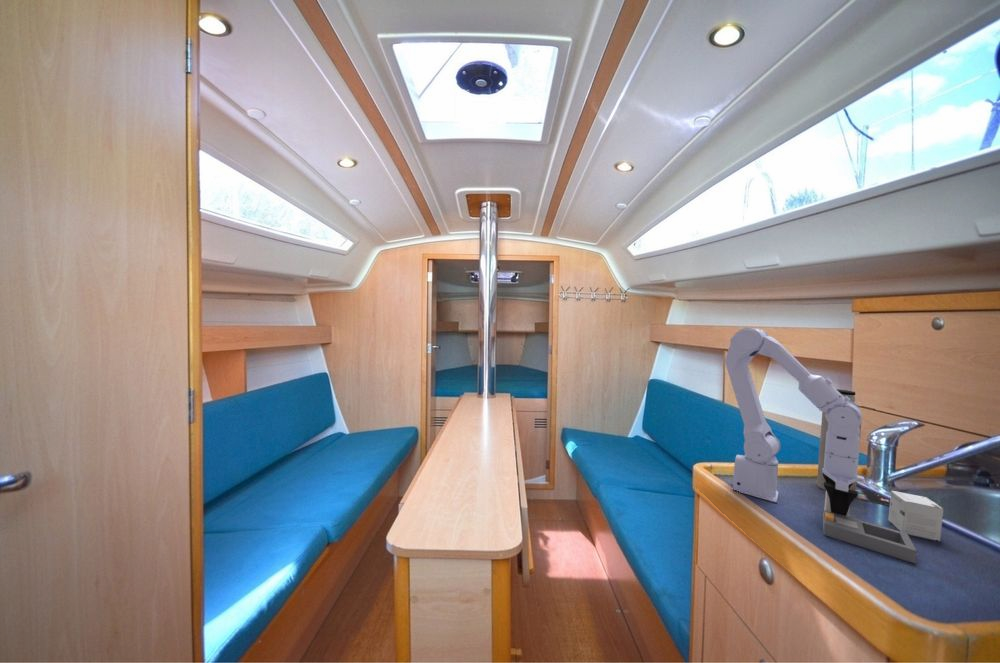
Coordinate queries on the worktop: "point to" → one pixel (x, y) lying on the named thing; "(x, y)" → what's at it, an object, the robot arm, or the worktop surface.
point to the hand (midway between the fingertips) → (837, 511)
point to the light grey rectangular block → (827, 505)
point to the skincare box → (915, 515)
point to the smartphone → (872, 498)
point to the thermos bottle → (823, 440)
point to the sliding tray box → (869, 536)
